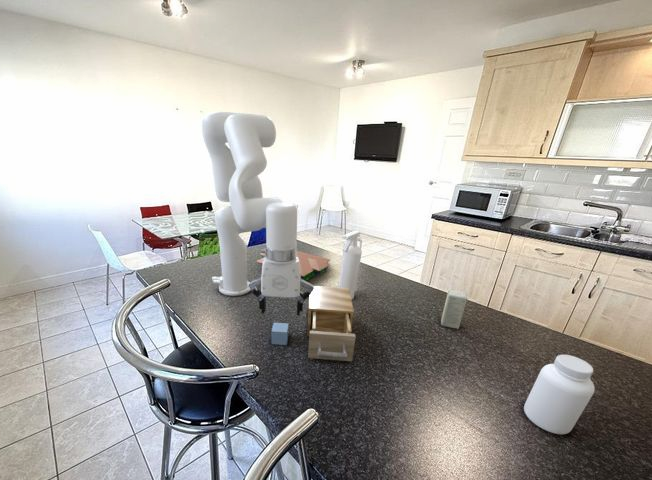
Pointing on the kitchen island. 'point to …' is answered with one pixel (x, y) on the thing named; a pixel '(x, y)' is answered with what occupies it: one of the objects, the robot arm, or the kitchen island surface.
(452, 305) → the box
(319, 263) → the house
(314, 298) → the cabinet
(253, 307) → the kitchen island surface
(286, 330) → the block
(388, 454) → the kitchen island surface
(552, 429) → the pill bottle
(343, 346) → the drawer
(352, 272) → the white spray bottle
